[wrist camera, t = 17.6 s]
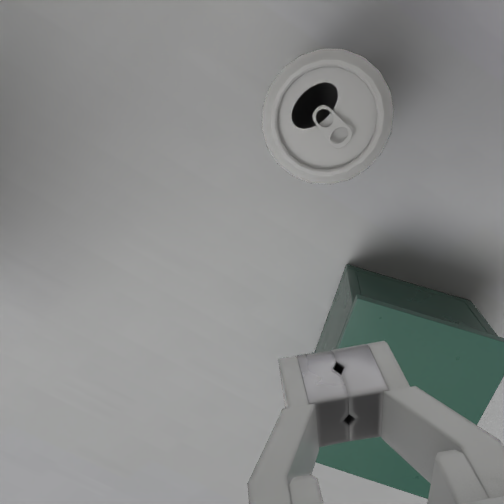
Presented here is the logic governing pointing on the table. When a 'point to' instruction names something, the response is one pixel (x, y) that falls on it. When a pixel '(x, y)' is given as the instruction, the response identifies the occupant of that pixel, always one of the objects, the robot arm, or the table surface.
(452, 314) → the tin
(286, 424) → the robot arm
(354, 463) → the tin lid
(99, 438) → the table surface
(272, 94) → the can
